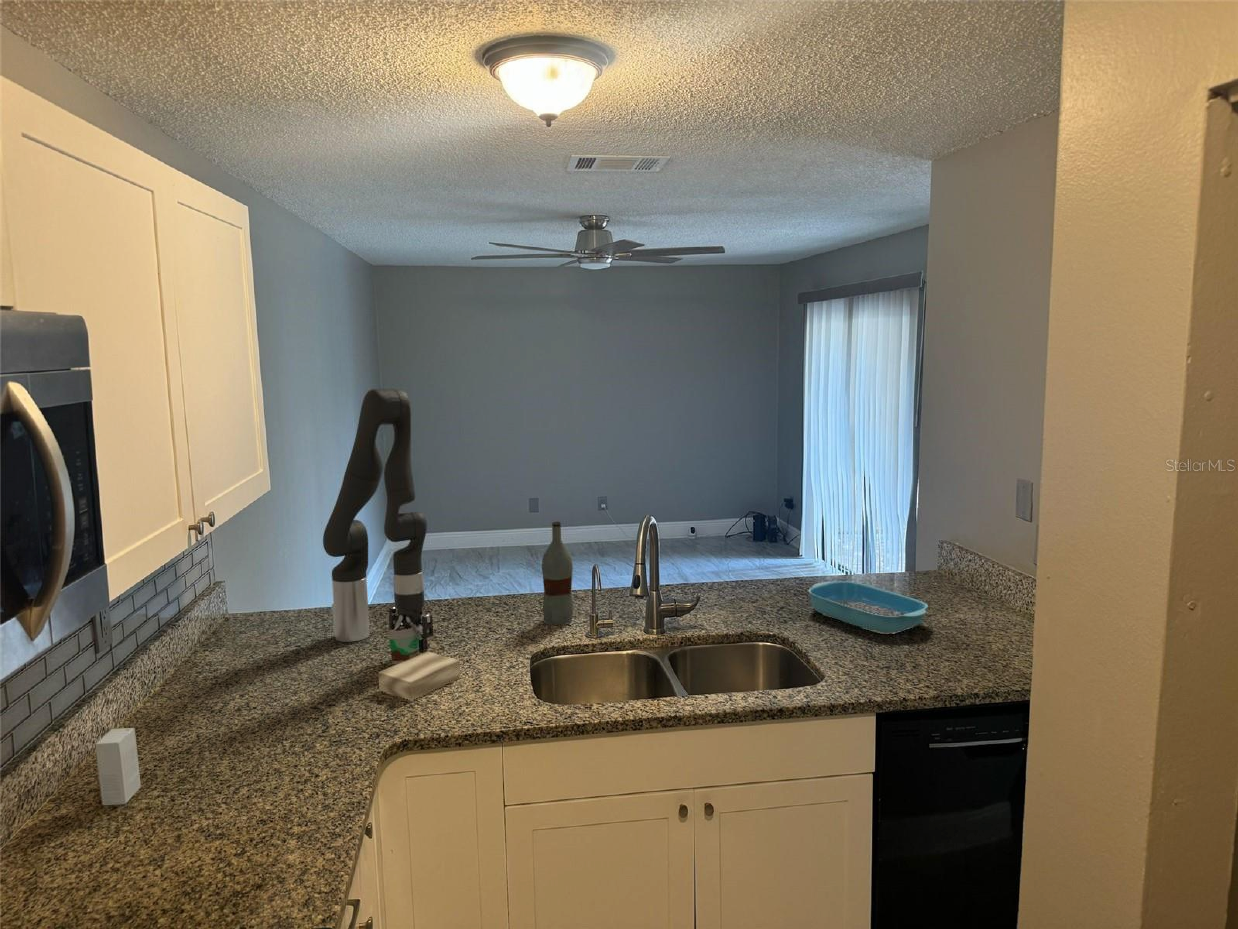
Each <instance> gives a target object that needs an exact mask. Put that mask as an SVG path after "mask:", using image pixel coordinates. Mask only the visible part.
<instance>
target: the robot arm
mask: <svg viewBox="0 0 1238 929" xmlns="http://www.w3.org/2000/svg"><path fill="white" fill-rule="evenodd" d="M411 409H412V408H411V402H410V398H409V396H408V394H407V393H406V392H405V390H402V389H396V388H373V389H372V388H371V389H370V390H368V391H367V392H366V394H365V395H364V398H363V400H362V404H361V408H360V413H359V418H358V423H357V430H356V434H355V438H354V442H353V444H352V449H351V453H350V456H349V459H348V462H347V465H346V468H345V472H344V475H343V480H342V483H341V486H340V487H341V488H340V489H339V492H338V494H337V495H338V496H337V499H336V502H335V505H334V507H333V509H332V512H331V514H330V517H329V519H328V522H327V524H326V525H325V529H324V532H323V536H322V545H323V549H324V551H325V553H326V554H327V555H328V556H330V557H332V558H339V557H340V558H341V557H343V559H342V560H341V562H339V563H338V564H337V565H336V566H334V567H333V568H332V570H331V583H332V584H331V585H332V600H333V603H332V604H331V615H332V616H331V617H332V630H333V631H332V632H333V633H332V634H333V637H335V640H336V641H338V642H342V643H344V642H345V643H350V642H351V643H352V642H357V641H363V640H365V639H367V638H368V637H369V636H370V618H369V598H368V596H369V595H368V581H367V578H368V577H367V571H368V568H369V534H368V530H367V528H366V525H365V524H364V523H363V522H362V521H361V520H359V519H355V518H356V516H357V515H358V514H359V512H361V510H362V509H363V508H364V507H365V506H367V504H368V503H369V501H370V500H371V499H372V498H373V497H374V495H375V494H376V492H377V490H378V488H379V485H380V482H381V478H382V475H384V476H383V478H384V486H385V493H386V513H385V518H384V525H383V526H384V527H383V529H384V530H383V531H384V535H385V537H386V538H387V539H388V541H390V542H392V543H397V542H398V543H399V542H406V541H409V542H408V544H407V545H406V546H405V547H403V548H400V549H397V550H396V551H394V553H393V557H392V559H393V598H394V600H393V601H394V606H392V607H389V608H388V628H389V631H395V630H396V629H397V628H398V627H399V626H401V625H402V624H403V625H404V627H409V628H413V631H414V633H416V634H417V636H418V638H419V640H418V641H419V653H420V655H421V654H423V653H426V652H428V649H429V644H428V643H429V641H428V639H429V638H432V637H434V635H435V634H434V623H433V615H432V614H431V613H427V614H424V611H423V607H424V606H425V604H426V603H425V586H424V585H425V584H424V583H425V582H424V581H425V580H424V576H423V569H422V568H423V566H422V565H423V564H422V554H423V548H424V543H425V538H426V534H427V530H428V521H427V519H426V517H425V515H424V514H423V513H422V512H419V511H411V512H404V513H399V511H400V508H401V507H402V506H404V505H407V504H411V503H412V502H414V501H415V500H416V492H415V485H414V477H413V471H412V461H411V460H412V459H411V457H412V456H411V454H412V453H411V452H412V450H411V449H412V448H411V447H412V410H411ZM383 425H384V426H385V425H390V426H391V425H392V428H393V433H394V434H393V435H394V436H393V444H392V447H391V450H390V452H389V454H388V458H387V459H386V463H385V465H384V463H383V459H382V457H381V455H380V451H379V450H378V447H377V434H378V431H379V428H380V427H381V426H383ZM384 466H385V467H384ZM383 472H384V474H383ZM419 625H421V627H419V628H417V627H416V626H419ZM420 631H422V633H421V632H420Z"/></svg>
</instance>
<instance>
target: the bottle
mask: <svg viewBox="0 0 1238 929" xmlns="http://www.w3.org/2000/svg"><path fill="white" fill-rule="evenodd" d="M551 524H552V526H551V528H552V530H551V531H552V533H551V535H552V536H551V537H552V539H551V542H550V544H549V545H548V547H547V549H546V550H545V552H544V553H543V556H542V562H541V574H542V580H543V598H542V614H543V620H544V623H545V624H546V623H547V624H546V625H549V624H550V625H549V626H554V625H559V626H564V625H563V624H566V623H569V624H571V623H572V620H573V616H574V602H573V596H572V595H573V594H572V586H573V585H572V584H573V570H574V565H573V559H572V555H571V552H570V551H569V549H568V548H567V547H566V545H565V544H564V542H563V541H562V522H560V521H552V523H551ZM566 625H567V624H566Z"/></svg>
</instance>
